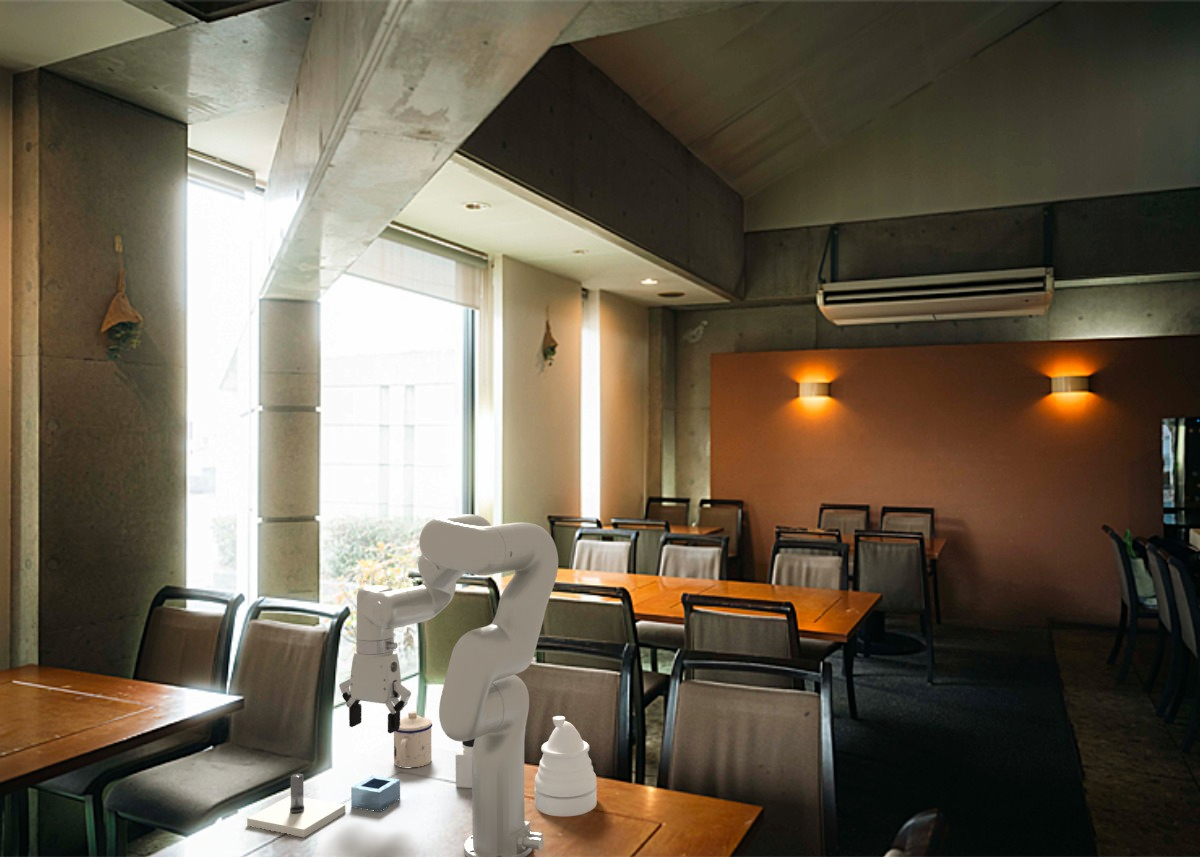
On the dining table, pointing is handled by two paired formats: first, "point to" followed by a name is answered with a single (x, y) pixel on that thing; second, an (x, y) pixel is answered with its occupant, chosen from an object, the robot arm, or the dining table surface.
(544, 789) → the honey pot
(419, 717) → the teacup with lid
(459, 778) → the medicine bottle
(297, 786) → the steel post
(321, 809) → the base plate
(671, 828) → the dining table surface
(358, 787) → the collar
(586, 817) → the dining table surface
